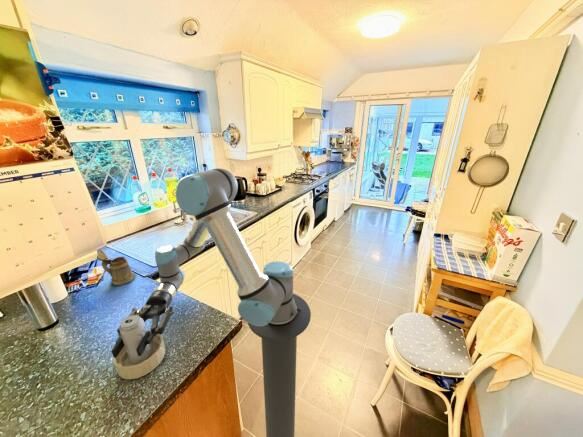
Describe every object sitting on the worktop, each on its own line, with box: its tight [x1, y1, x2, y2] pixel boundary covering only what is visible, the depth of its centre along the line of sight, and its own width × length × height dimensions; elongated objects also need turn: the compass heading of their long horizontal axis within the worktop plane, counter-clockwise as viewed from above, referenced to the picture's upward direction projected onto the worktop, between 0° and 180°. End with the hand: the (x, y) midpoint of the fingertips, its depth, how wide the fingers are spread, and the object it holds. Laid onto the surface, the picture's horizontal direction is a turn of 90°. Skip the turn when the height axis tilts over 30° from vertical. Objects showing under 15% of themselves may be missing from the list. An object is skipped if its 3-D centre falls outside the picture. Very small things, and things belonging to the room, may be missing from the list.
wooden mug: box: [96, 249, 135, 286], centre depth 110 cm, size 9×14×18 cm, turn 105°
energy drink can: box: [119, 315, 152, 364], centre depth 72 cm, size 6×6×15 cm
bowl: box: [112, 330, 166, 380], centre depth 74 cm, size 13×13×6 cm
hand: (126, 353), depth 67 cm, fingers closed on energy drink can, 6 cm apart
